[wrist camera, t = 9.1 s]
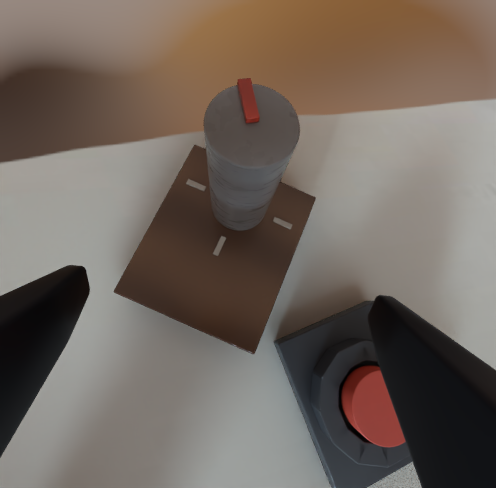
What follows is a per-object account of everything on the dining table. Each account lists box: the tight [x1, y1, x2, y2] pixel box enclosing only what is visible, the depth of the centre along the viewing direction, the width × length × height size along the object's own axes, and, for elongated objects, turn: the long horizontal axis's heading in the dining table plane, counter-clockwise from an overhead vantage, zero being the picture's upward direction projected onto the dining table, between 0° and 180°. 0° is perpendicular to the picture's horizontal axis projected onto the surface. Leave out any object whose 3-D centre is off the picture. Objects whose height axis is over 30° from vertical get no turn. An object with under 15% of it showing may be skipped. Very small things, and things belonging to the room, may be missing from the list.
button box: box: [274, 301, 412, 488], centre depth 19 cm, size 10×8×4 cm
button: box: [341, 365, 406, 447], centre depth 17 cm, size 4×4×2 cm
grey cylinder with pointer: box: [204, 78, 300, 231], centre depth 16 cm, size 4×4×9 cm
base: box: [114, 145, 316, 354], centre depth 21 cm, size 13×10×3 cm
